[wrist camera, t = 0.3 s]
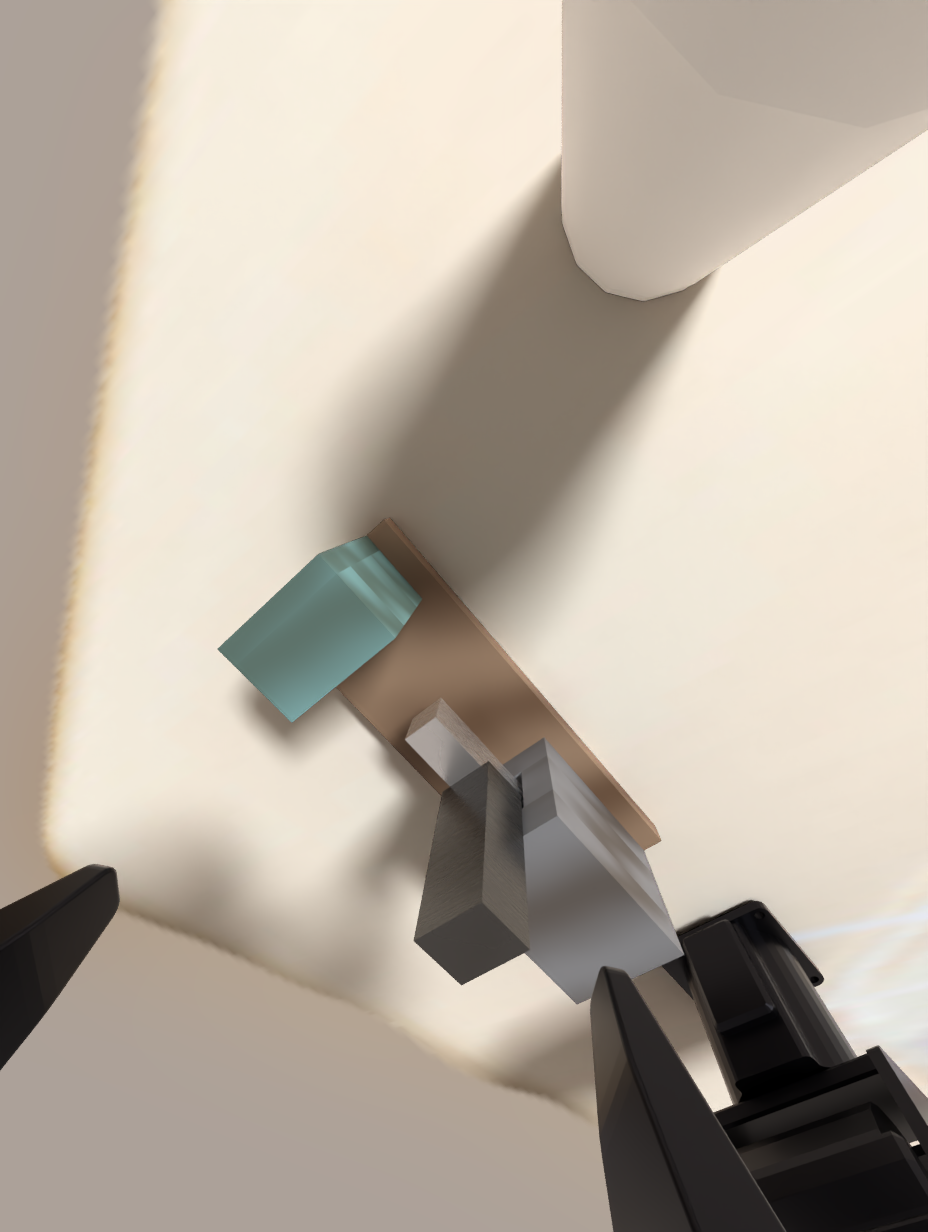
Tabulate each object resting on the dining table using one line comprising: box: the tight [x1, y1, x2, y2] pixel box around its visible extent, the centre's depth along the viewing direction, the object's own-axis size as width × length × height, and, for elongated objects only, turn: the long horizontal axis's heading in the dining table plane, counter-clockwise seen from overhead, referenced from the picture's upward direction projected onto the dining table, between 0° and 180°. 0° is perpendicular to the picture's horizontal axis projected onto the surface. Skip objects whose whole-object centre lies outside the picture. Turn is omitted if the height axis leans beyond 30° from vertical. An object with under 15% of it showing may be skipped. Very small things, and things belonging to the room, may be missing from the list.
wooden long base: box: [218, 518, 684, 1004], centre depth 19 cm, size 20×7×6 cm, turn 40°
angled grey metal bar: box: [405, 698, 530, 985], centre depth 16 cm, size 13×2×8 cm, turn 40°
